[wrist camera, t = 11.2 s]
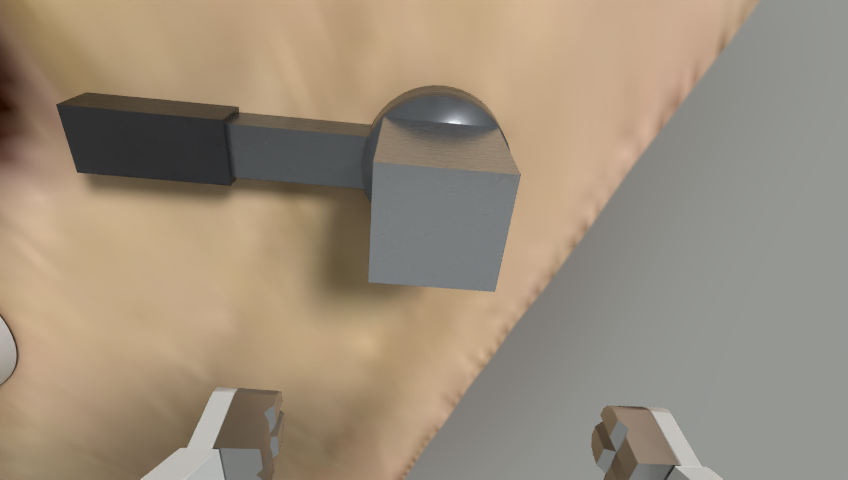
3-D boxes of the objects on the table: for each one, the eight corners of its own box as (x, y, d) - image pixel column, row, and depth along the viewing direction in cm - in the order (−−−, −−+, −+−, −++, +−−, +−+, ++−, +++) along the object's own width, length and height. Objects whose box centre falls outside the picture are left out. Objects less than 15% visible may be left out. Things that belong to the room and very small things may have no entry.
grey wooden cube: (378, 218, 26) (368, 282, 21) (383, 117, 23) (373, 161, 18) (480, 227, 26) (494, 291, 21) (498, 127, 23) (520, 174, 18)
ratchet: (113, 190, 28) (43, 242, 23) (74, 48, 24) (-23, 73, 18) (491, 222, 29) (506, 278, 24) (517, 93, 25) (542, 127, 20)
